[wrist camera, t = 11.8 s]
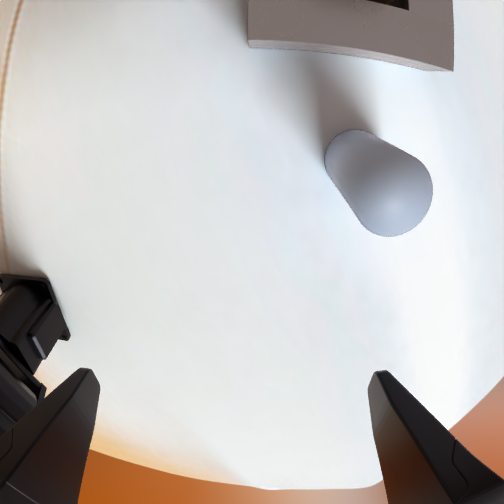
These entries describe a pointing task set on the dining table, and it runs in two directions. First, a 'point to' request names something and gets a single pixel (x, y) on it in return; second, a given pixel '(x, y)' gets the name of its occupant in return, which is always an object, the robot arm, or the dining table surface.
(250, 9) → the socket block
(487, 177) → the dining table surface
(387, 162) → the round dowel
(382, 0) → the square peg
